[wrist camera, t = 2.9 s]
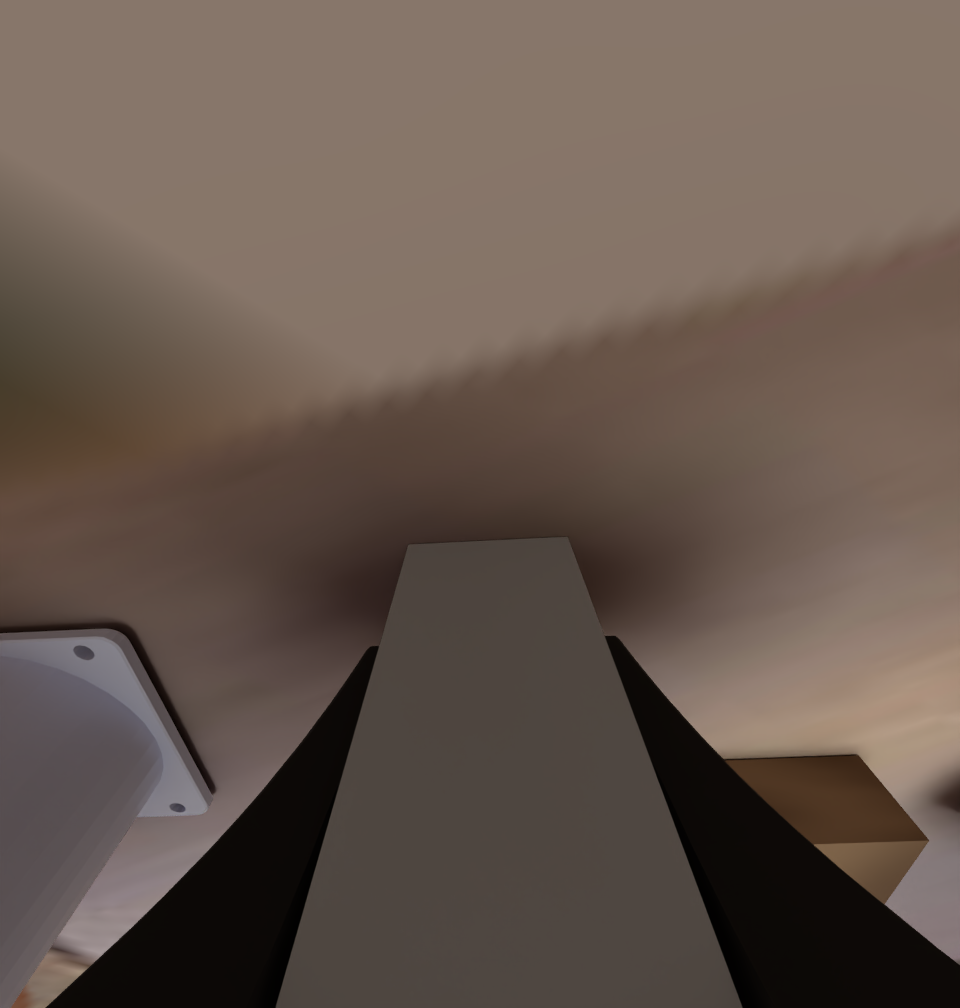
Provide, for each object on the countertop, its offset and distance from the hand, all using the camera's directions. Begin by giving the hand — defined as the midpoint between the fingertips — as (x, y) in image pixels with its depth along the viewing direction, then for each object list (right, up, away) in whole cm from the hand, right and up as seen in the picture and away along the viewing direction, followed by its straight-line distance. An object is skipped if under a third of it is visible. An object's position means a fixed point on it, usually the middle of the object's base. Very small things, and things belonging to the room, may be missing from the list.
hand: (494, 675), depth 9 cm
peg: (0, +1, +2) cm, 2 cm away
